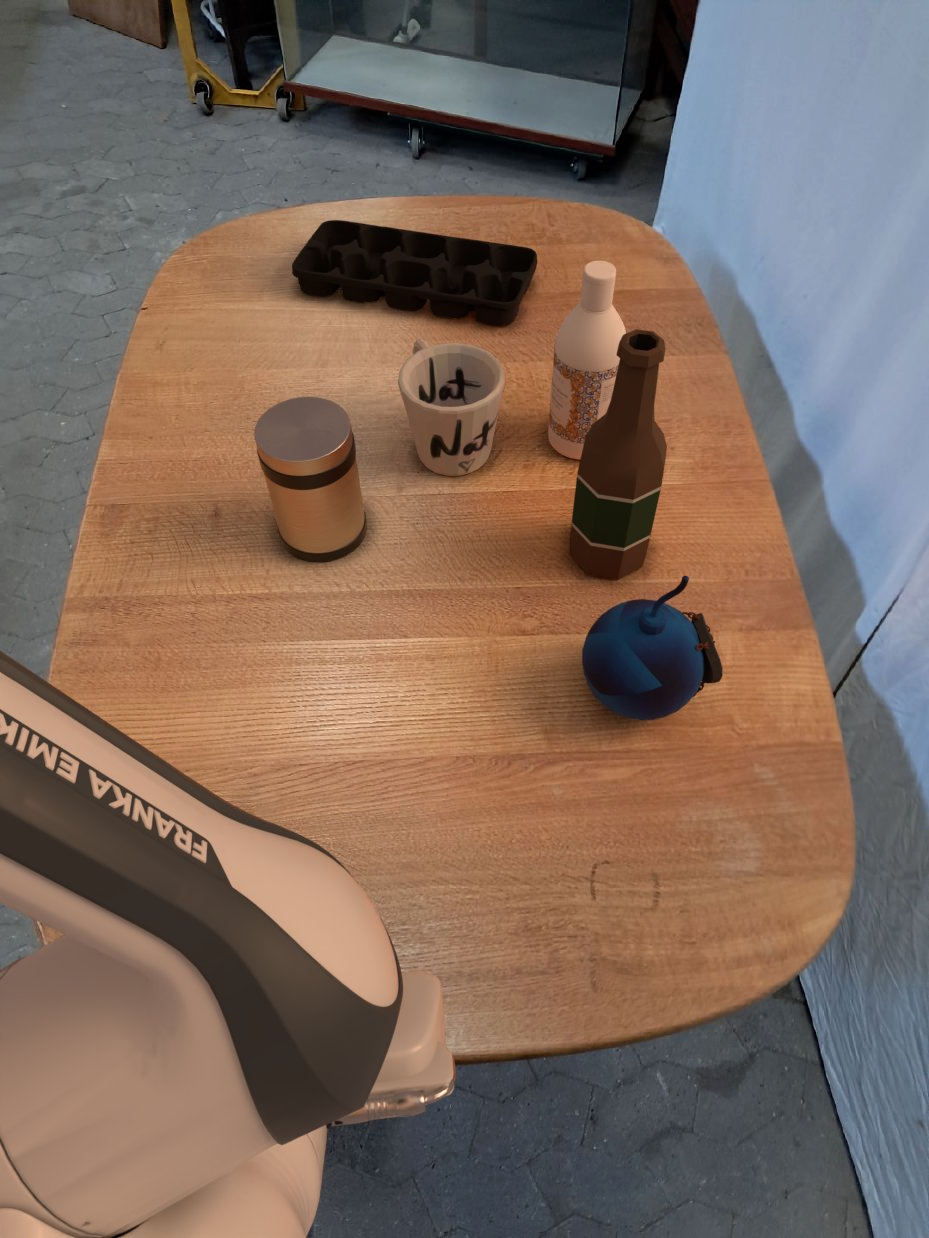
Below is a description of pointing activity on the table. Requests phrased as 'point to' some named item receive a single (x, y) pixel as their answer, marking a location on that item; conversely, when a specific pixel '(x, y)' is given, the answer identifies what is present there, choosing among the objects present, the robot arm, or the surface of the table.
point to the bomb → (649, 657)
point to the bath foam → (585, 361)
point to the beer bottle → (621, 467)
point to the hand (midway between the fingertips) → (272, 971)
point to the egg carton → (416, 270)
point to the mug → (452, 404)
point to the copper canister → (312, 477)
